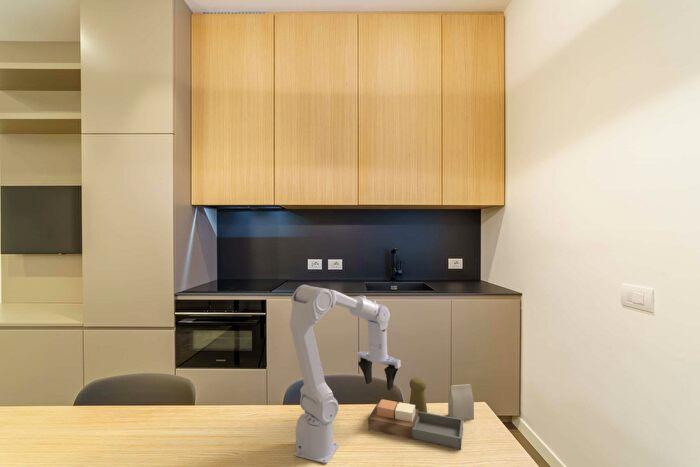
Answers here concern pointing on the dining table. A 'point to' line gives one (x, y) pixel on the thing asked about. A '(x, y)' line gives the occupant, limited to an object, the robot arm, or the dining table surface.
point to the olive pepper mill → (418, 394)
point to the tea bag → (461, 402)
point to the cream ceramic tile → (405, 412)
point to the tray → (438, 430)
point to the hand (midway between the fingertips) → (379, 385)
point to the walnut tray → (391, 424)
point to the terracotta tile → (386, 408)
